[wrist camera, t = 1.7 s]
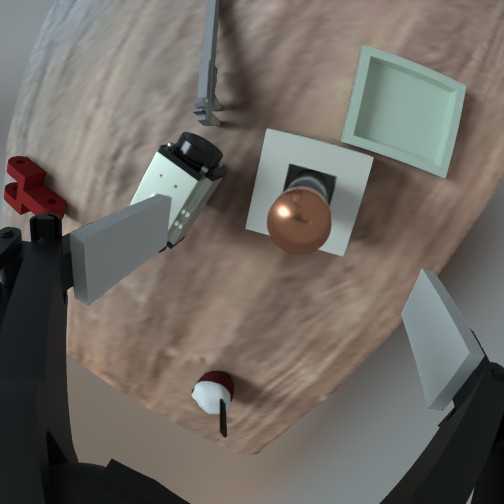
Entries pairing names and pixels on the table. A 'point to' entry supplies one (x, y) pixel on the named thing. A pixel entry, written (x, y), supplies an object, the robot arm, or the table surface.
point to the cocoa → (215, 395)
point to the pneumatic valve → (183, 181)
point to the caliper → (208, 70)
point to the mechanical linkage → (30, 189)
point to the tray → (403, 111)
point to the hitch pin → (301, 214)
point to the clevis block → (316, 158)
